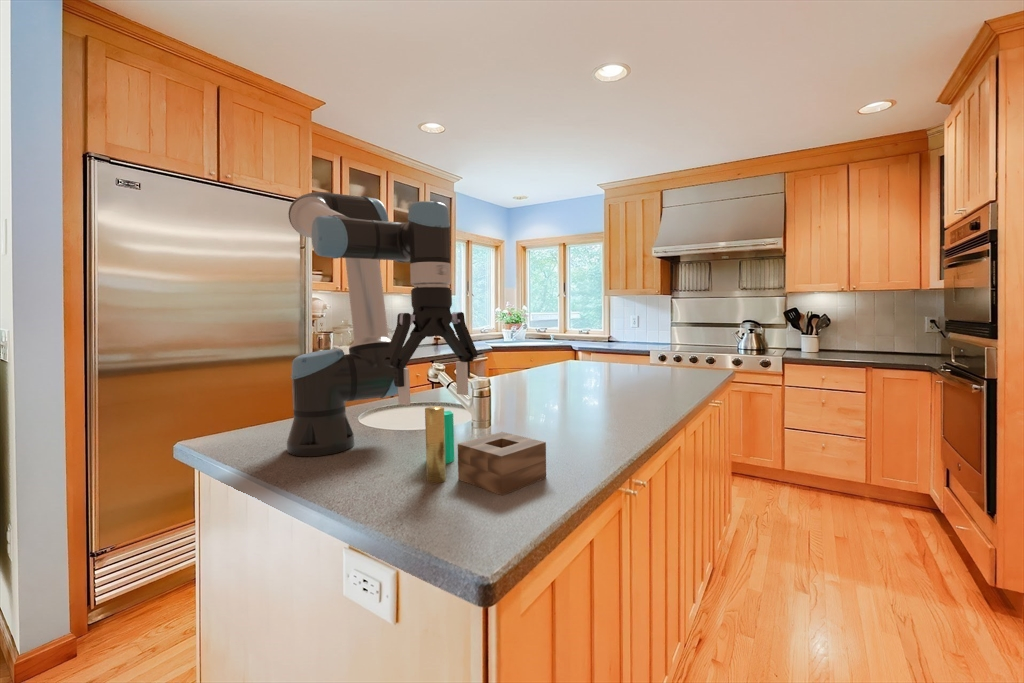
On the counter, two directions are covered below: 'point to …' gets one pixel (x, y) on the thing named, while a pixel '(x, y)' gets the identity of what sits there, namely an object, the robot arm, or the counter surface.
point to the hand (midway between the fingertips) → (434, 399)
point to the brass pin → (435, 444)
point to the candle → (449, 436)
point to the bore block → (502, 462)
